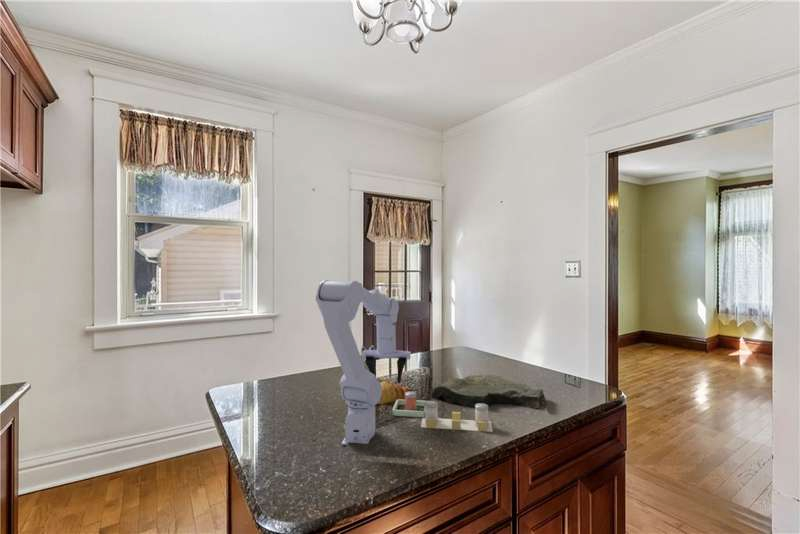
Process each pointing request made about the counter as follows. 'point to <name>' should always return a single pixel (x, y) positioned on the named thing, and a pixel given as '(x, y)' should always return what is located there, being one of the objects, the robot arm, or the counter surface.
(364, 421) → the robot arm
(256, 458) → the counter surface
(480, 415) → the grey fuse
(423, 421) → the fuse block
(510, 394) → the stone
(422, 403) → the tray
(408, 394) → the red fuse
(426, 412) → the grey fuse
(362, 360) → the toy
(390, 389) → the croissant
